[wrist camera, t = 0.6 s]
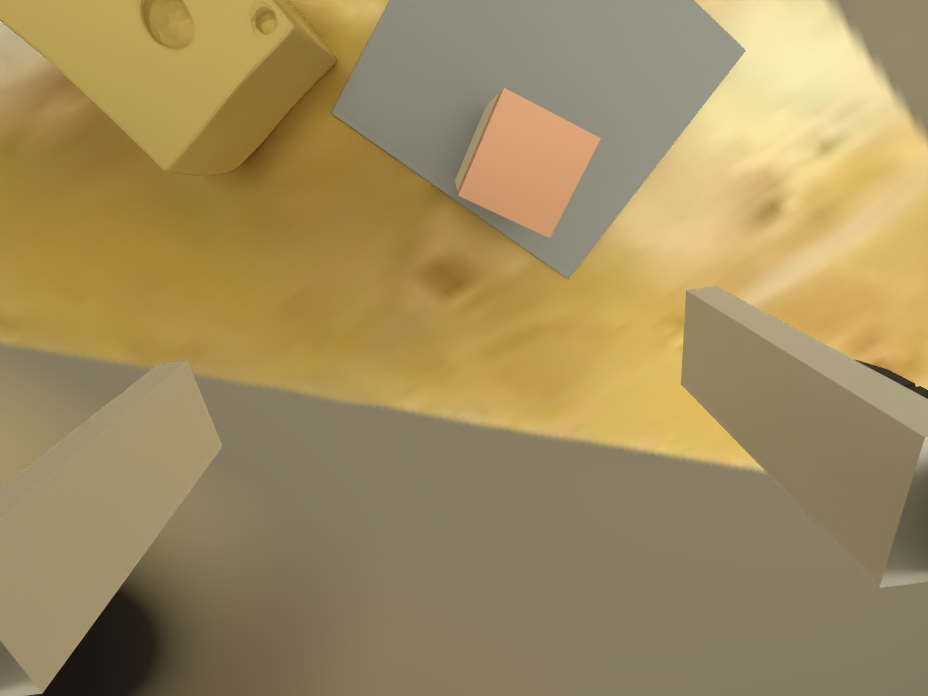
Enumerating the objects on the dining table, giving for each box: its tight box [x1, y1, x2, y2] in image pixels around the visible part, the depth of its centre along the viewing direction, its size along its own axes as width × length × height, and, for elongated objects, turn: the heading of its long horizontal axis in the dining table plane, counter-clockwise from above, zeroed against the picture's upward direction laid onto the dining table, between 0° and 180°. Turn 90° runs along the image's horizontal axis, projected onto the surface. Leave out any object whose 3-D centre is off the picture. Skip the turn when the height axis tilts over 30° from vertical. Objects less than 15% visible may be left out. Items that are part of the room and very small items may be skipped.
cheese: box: [0, 0, 337, 176], centre depth 26 cm, size 10×11×10 cm
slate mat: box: [332, 0, 746, 279], centre depth 31 cm, size 20×18×1 cm
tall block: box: [455, 88, 601, 238], centre depth 27 cm, size 5×5×11 cm
